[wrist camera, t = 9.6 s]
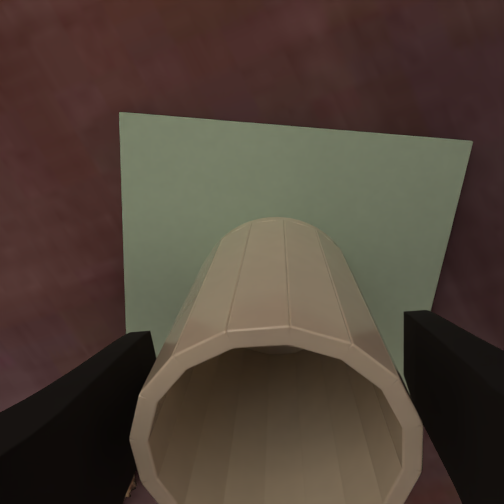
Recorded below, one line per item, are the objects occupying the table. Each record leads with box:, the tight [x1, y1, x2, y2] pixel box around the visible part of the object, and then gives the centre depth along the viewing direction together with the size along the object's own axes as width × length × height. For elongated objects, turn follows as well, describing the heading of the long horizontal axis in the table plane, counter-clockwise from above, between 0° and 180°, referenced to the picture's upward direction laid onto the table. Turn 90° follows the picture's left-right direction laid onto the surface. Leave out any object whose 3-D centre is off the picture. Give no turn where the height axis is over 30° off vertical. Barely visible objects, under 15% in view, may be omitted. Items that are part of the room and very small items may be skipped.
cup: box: [129, 217, 423, 504], centre depth 12 cm, size 6×6×8 cm
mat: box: [119, 112, 473, 394], centre depth 16 cm, size 12×12×1 cm
